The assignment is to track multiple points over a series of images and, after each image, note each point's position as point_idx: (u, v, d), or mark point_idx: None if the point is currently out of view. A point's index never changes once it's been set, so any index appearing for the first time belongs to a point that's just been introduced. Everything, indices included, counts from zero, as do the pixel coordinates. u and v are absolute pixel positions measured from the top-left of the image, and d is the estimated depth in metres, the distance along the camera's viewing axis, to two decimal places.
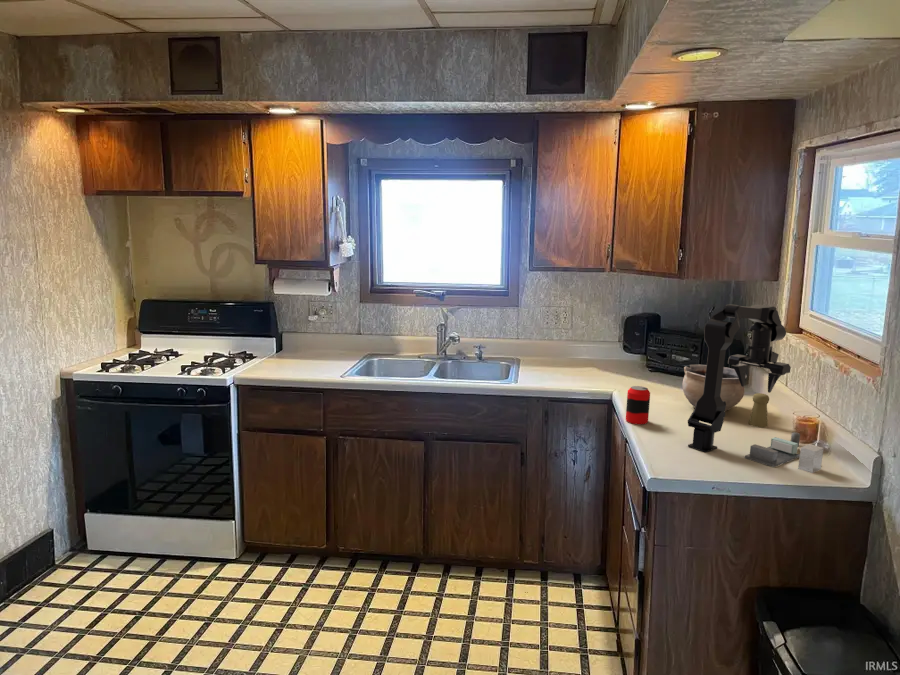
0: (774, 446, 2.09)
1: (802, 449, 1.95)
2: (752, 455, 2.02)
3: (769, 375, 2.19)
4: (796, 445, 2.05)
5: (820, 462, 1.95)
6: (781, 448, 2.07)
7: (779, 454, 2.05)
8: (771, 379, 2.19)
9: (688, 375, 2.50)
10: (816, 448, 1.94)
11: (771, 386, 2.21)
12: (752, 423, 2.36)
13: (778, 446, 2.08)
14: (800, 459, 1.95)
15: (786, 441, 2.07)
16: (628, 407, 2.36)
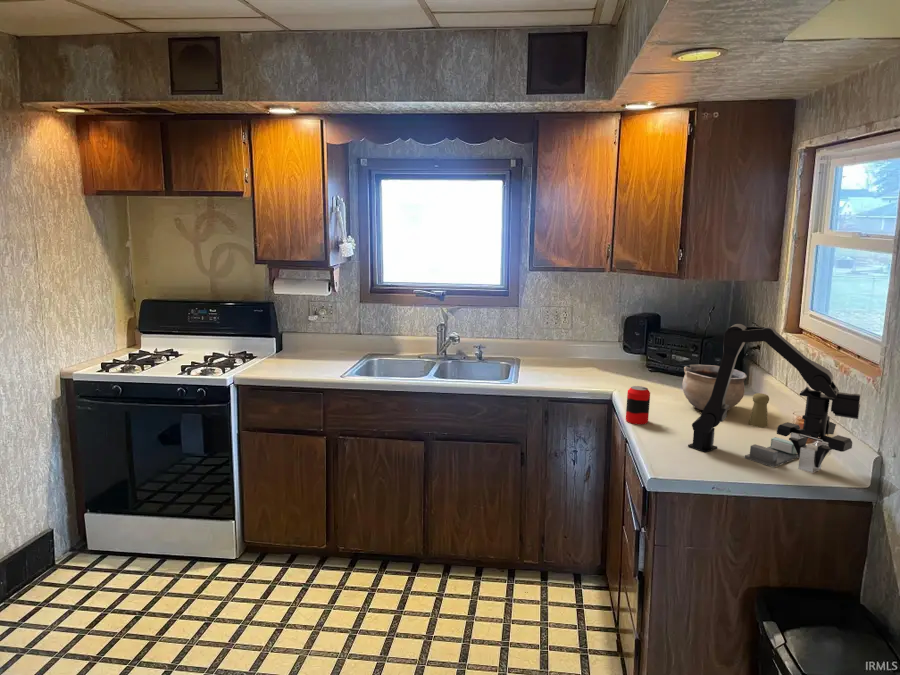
0: (774, 446, 2.09)
1: (802, 449, 1.95)
2: (752, 455, 2.02)
3: (818, 449, 1.91)
4: None
5: None
6: (781, 448, 2.07)
7: (779, 454, 2.05)
8: (821, 453, 1.91)
9: (688, 375, 2.50)
10: (816, 448, 1.94)
11: (820, 461, 1.93)
12: (752, 423, 2.36)
13: (778, 446, 2.08)
14: (800, 459, 1.95)
15: (786, 441, 2.07)
16: (628, 407, 2.36)
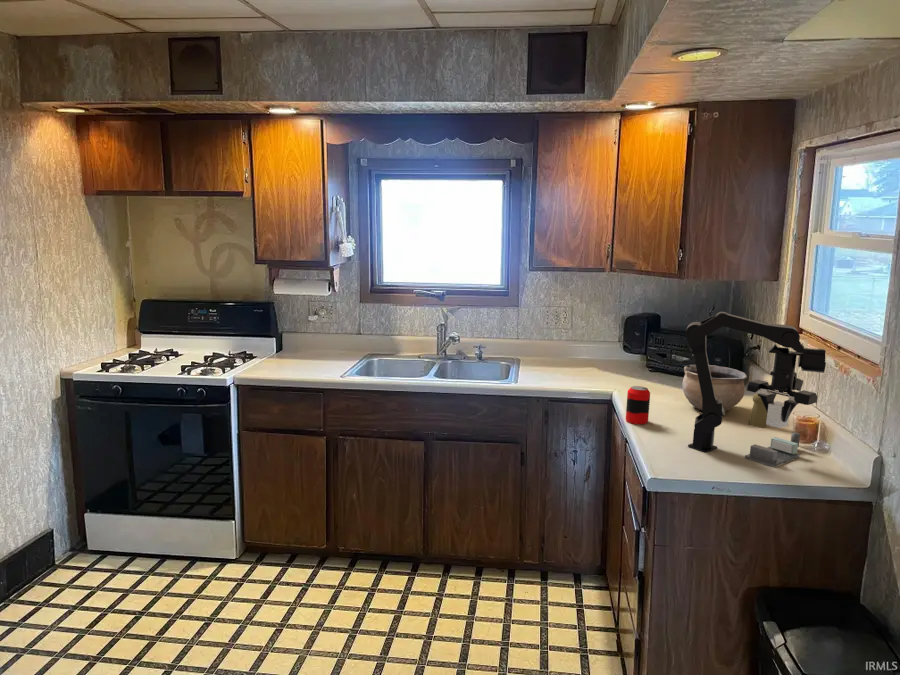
0: (774, 446, 2.09)
1: (770, 405, 2.01)
2: (752, 455, 2.02)
3: (785, 403, 1.97)
4: (796, 445, 2.05)
5: None
6: (781, 448, 2.07)
7: (779, 454, 2.05)
8: (787, 407, 1.97)
9: (688, 375, 2.50)
10: (783, 404, 2.01)
11: (787, 415, 1.99)
12: (752, 423, 2.36)
13: (778, 446, 2.08)
14: (768, 415, 2.02)
15: (786, 441, 2.07)
16: (628, 407, 2.36)
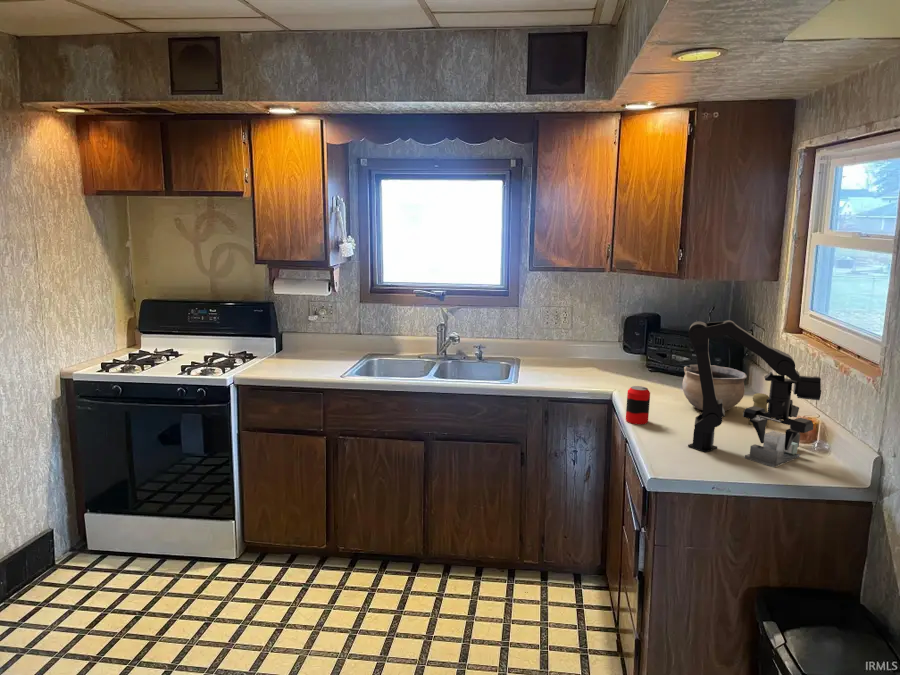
0: None
1: (766, 435, 2.03)
2: (752, 455, 2.02)
3: (786, 432, 1.98)
4: (796, 445, 2.05)
5: (783, 448, 2.04)
6: None
7: None
8: (789, 436, 1.98)
9: (688, 375, 2.50)
10: (779, 434, 2.03)
11: (788, 443, 2.00)
12: None
13: None
14: (764, 445, 2.04)
15: None
16: (628, 407, 2.36)
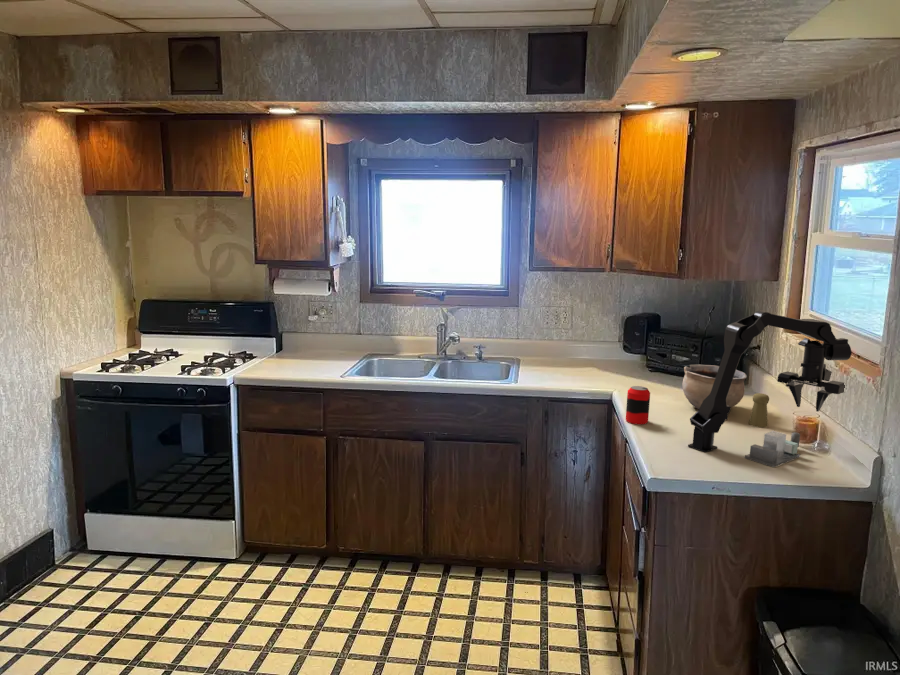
0: None
1: (766, 435, 2.03)
2: (752, 455, 2.02)
3: (818, 393, 2.08)
4: (796, 445, 2.05)
5: (783, 448, 2.04)
6: None
7: None
8: (820, 398, 2.08)
9: (688, 375, 2.50)
10: (779, 434, 2.03)
11: (820, 405, 2.10)
12: (752, 423, 2.36)
13: None
14: (764, 445, 2.04)
15: (786, 441, 2.07)
16: (628, 407, 2.36)
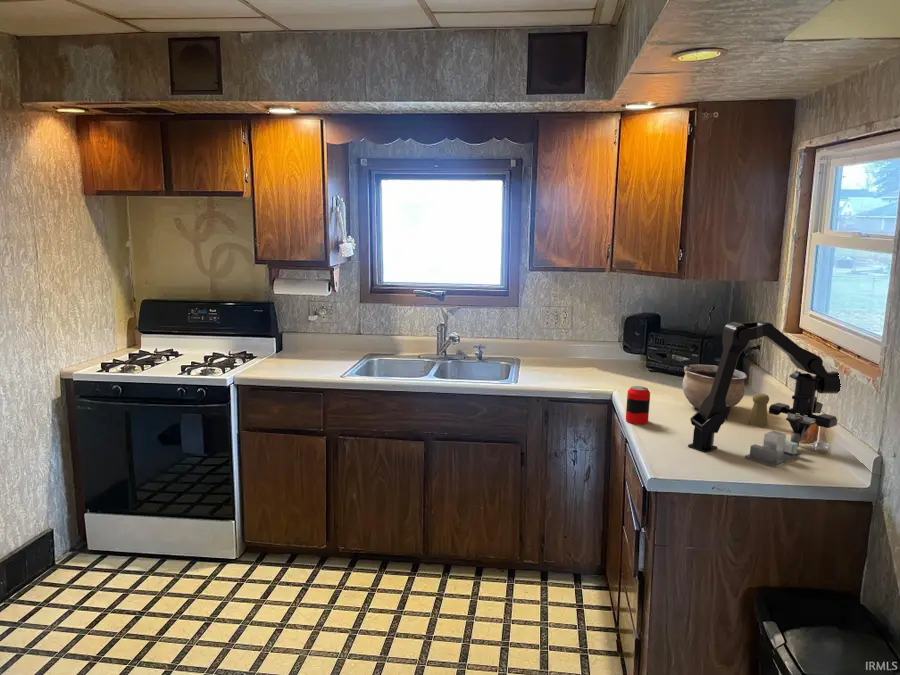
0: None
1: (766, 435, 2.03)
2: (752, 455, 2.02)
3: (800, 424, 2.10)
4: (796, 445, 2.05)
5: (783, 448, 2.04)
6: None
7: None
8: (802, 428, 2.10)
9: (688, 375, 2.50)
10: (779, 434, 2.03)
11: (801, 435, 2.12)
12: (752, 423, 2.36)
13: None
14: (764, 445, 2.04)
15: (786, 441, 2.07)
16: (628, 407, 2.36)
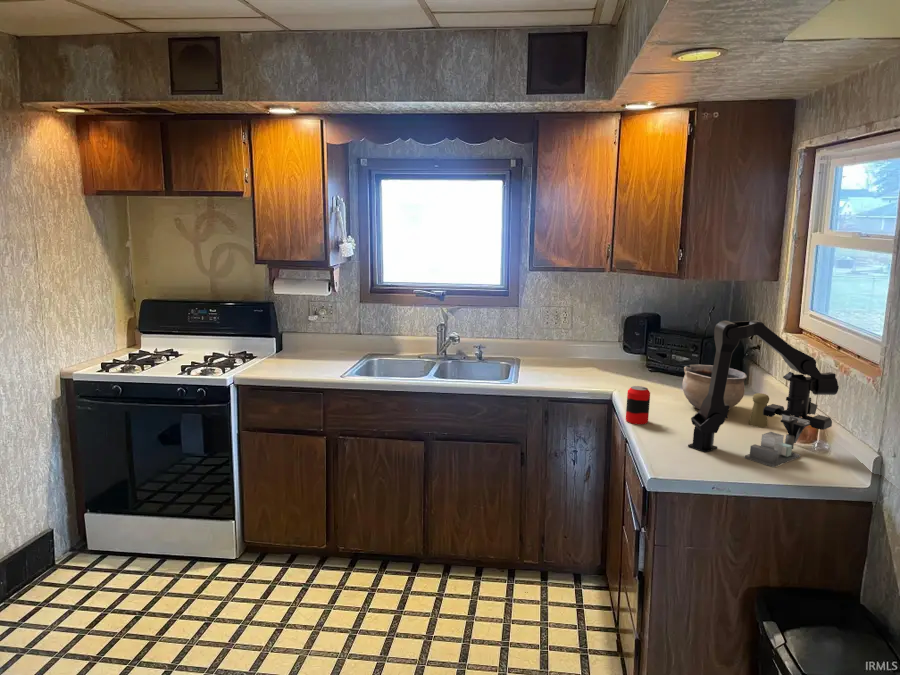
0: None
1: (763, 436, 2.02)
2: (752, 455, 2.02)
3: (794, 426, 2.08)
4: (790, 447, 2.03)
5: (780, 449, 2.03)
6: None
7: None
8: (796, 430, 2.08)
9: (688, 375, 2.50)
10: (776, 435, 2.02)
11: (796, 437, 2.10)
12: (752, 423, 2.36)
13: None
14: None
15: None
16: (628, 407, 2.36)
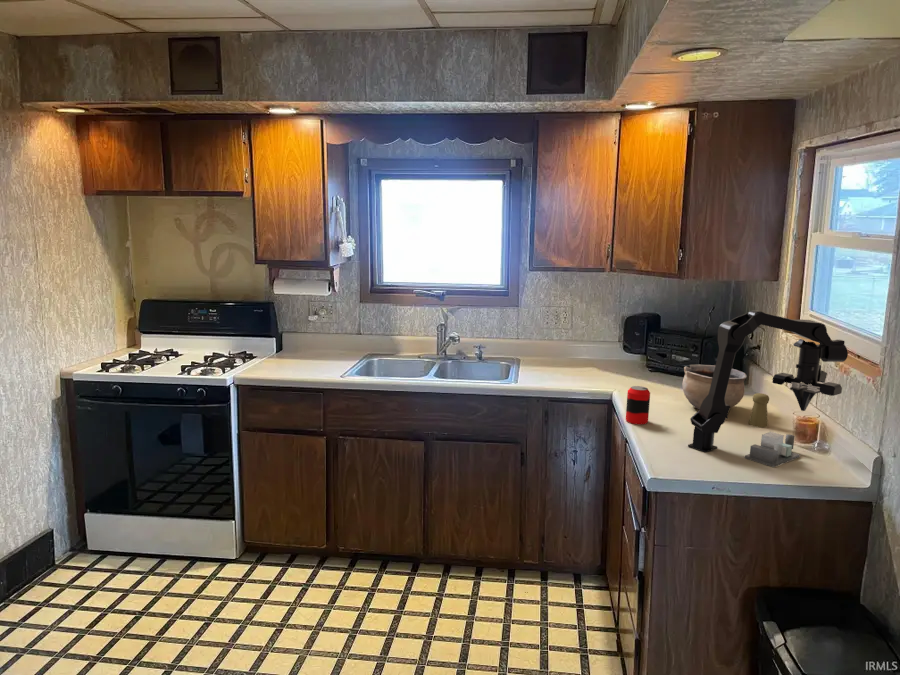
0: None
1: (763, 436, 2.02)
2: (752, 455, 2.02)
3: (804, 393, 2.08)
4: (790, 447, 2.03)
5: (780, 449, 2.03)
6: None
7: None
8: (806, 397, 2.08)
9: (688, 375, 2.50)
10: (776, 435, 2.02)
11: (806, 404, 2.10)
12: (752, 423, 2.36)
13: None
14: None
15: None
16: (628, 407, 2.36)
